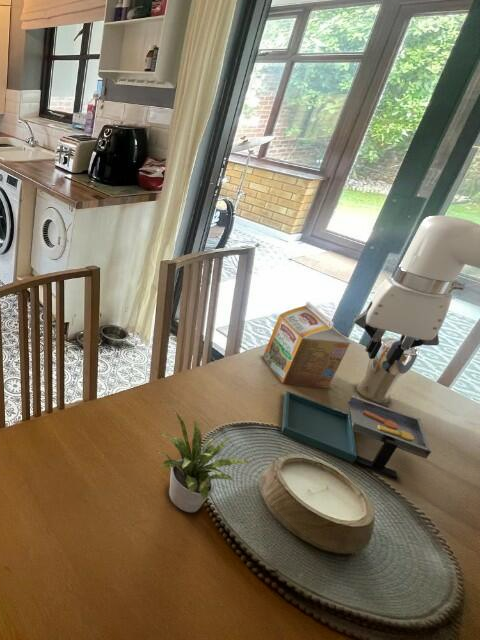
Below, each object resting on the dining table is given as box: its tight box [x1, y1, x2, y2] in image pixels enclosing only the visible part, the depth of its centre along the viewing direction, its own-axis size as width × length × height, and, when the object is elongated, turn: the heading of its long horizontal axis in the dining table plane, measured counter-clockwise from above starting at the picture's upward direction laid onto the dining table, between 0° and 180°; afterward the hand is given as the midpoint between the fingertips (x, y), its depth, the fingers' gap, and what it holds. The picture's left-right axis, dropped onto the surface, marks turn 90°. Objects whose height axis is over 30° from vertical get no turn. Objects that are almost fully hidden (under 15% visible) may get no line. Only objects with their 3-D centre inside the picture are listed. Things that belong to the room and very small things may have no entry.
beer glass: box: [356, 337, 420, 404], centre depth 99 cm, size 7×7×15 cm
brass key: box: [377, 425, 414, 441], centre depth 83 cm, size 5×2×1 cm, turn 63°
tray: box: [281, 390, 358, 464], centre depth 92 cm, size 12×14×2 cm
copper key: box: [363, 410, 399, 429], centre depth 86 cm, size 5×2×1 cm, turn 38°
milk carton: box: [262, 301, 351, 389], centre depth 106 cm, size 11×11×19 cm
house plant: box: [155, 408, 251, 513], centre depth 74 cm, size 14×14×16 cm
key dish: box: [347, 395, 432, 460], centre depth 85 cm, size 11×10×2 cm
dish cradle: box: [355, 402, 399, 481], centre depth 86 cm, size 6×14×8 cm, turn 143°
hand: (379, 357), depth 85 cm, fingers closed
